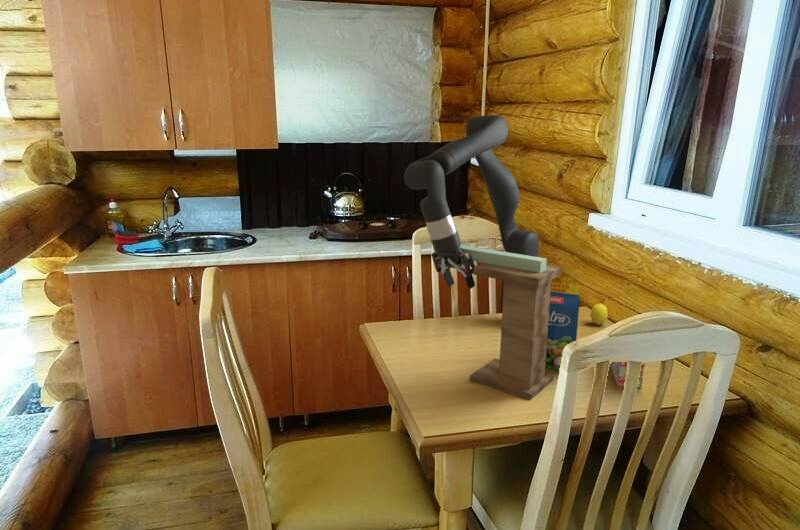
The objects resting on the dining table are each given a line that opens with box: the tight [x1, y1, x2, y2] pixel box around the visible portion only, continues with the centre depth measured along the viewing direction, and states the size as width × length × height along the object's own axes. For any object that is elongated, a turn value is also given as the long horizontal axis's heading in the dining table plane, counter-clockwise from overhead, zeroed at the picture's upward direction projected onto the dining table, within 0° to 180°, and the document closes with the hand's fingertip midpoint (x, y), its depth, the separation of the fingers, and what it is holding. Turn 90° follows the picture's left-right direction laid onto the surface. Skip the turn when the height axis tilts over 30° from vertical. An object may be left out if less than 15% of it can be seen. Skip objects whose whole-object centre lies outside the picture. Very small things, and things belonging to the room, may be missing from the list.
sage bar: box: [460, 244, 547, 273], centre depth 149 cm, size 4×26×3 cm, turn 52°
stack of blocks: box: [609, 362, 645, 389], centre depth 158 cm, size 21×6×12 cm, turn 169°
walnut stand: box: [469, 263, 563, 401], centre depth 150 cm, size 14×18×32 cm
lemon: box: [590, 302, 608, 326], centre depth 194 cm, size 6×6×8 cm
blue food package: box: [545, 281, 581, 372], centre depth 159 cm, size 6×12×25 cm, turn 67°
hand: (461, 286), depth 156 cm, fingers open, 8 cm apart
